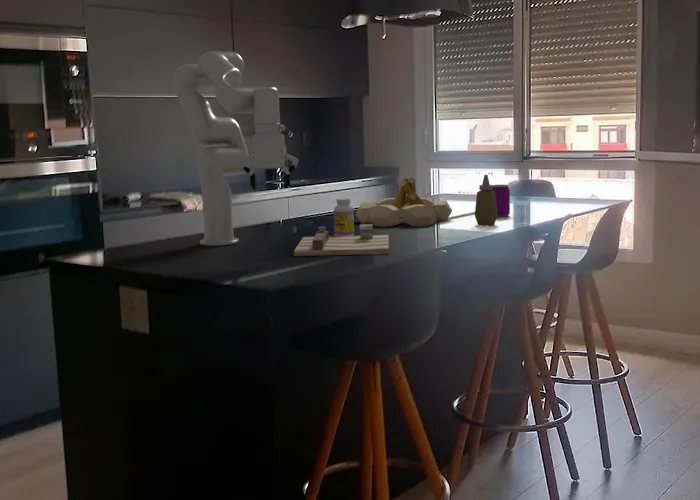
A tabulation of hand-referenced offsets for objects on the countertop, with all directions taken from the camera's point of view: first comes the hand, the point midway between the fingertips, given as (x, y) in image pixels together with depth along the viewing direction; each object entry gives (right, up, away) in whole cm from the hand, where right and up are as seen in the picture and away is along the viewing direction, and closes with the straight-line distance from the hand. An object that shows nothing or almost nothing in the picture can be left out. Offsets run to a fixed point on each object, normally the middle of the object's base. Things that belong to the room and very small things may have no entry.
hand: (270, 188), depth 246 cm
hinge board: (+22, -17, +13) cm, 31 cm away
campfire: (+44, -8, +70) cm, 83 cm away
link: (+14, -16, +11) cm, 24 cm away
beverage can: (+81, -5, +75) cm, 111 cm away
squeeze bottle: (+72, -10, +52) cm, 90 cm away
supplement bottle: (+22, -14, +36) cm, 44 cm away
